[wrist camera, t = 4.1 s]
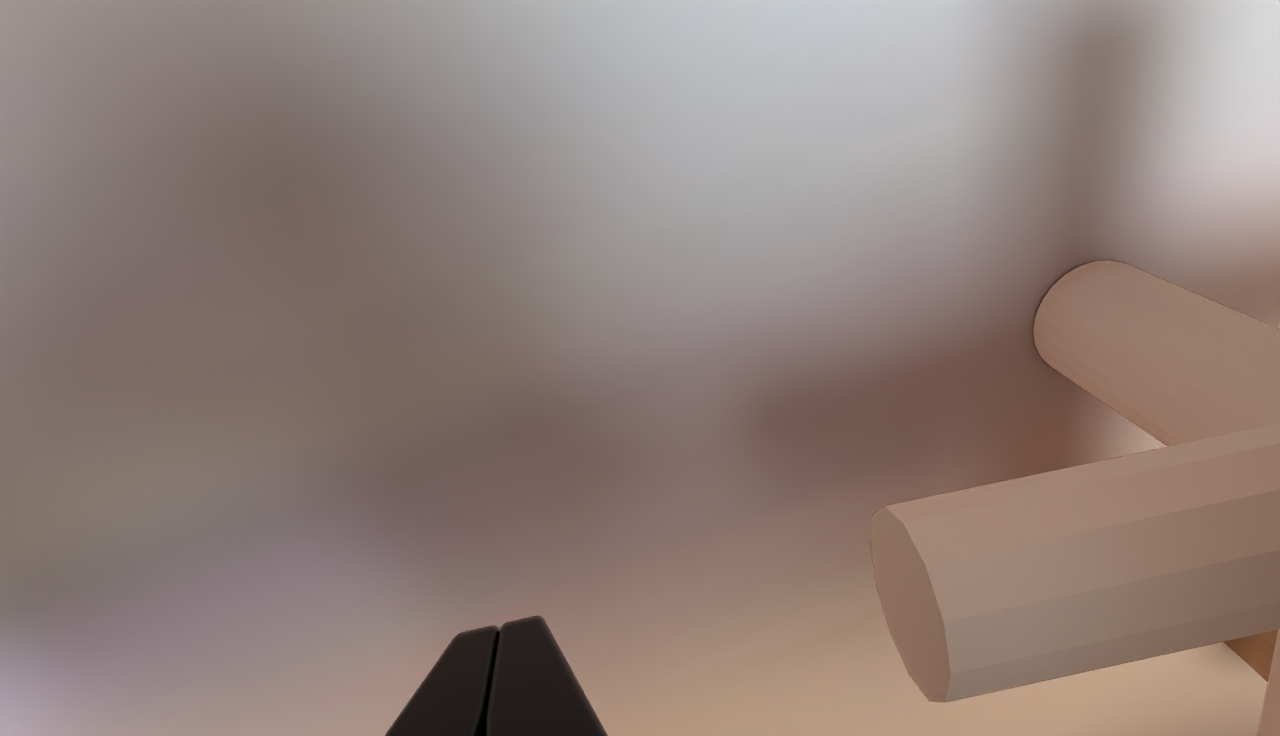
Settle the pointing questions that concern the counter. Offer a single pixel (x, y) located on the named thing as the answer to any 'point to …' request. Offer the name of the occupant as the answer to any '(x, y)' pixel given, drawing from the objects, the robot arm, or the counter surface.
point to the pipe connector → (1107, 508)
